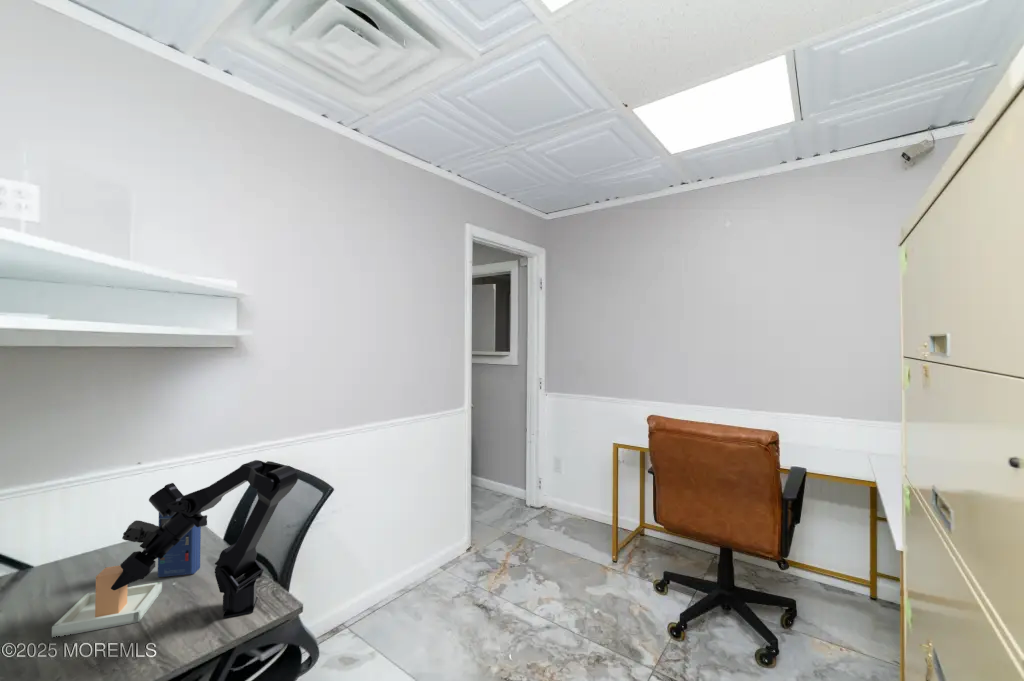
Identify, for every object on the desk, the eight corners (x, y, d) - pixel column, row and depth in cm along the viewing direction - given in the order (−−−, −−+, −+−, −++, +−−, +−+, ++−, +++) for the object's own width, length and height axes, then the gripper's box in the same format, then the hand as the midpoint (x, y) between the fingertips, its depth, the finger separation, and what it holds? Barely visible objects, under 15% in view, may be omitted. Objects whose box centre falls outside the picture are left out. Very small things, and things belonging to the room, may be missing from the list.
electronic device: (155, 579, 122) (156, 509, 122) (166, 569, 127) (167, 503, 127) (192, 575, 124) (193, 507, 124) (201, 566, 129) (202, 500, 129)
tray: (161, 590, 116) (162, 581, 116) (138, 622, 103) (138, 611, 103) (86, 603, 111) (86, 593, 111) (51, 638, 98) (51, 627, 98)
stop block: (127, 603, 110) (127, 564, 110) (118, 613, 106) (119, 573, 106) (104, 606, 108) (105, 567, 108) (95, 617, 104) (95, 576, 104)
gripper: (163, 498, 119) (112, 544, 114) (131, 524, 101) (70, 580, 97) (196, 522, 121) (148, 568, 117) (171, 551, 104) (114, 607, 100)
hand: (121, 579), depth 108 cm, fingers open, 9 cm apart
